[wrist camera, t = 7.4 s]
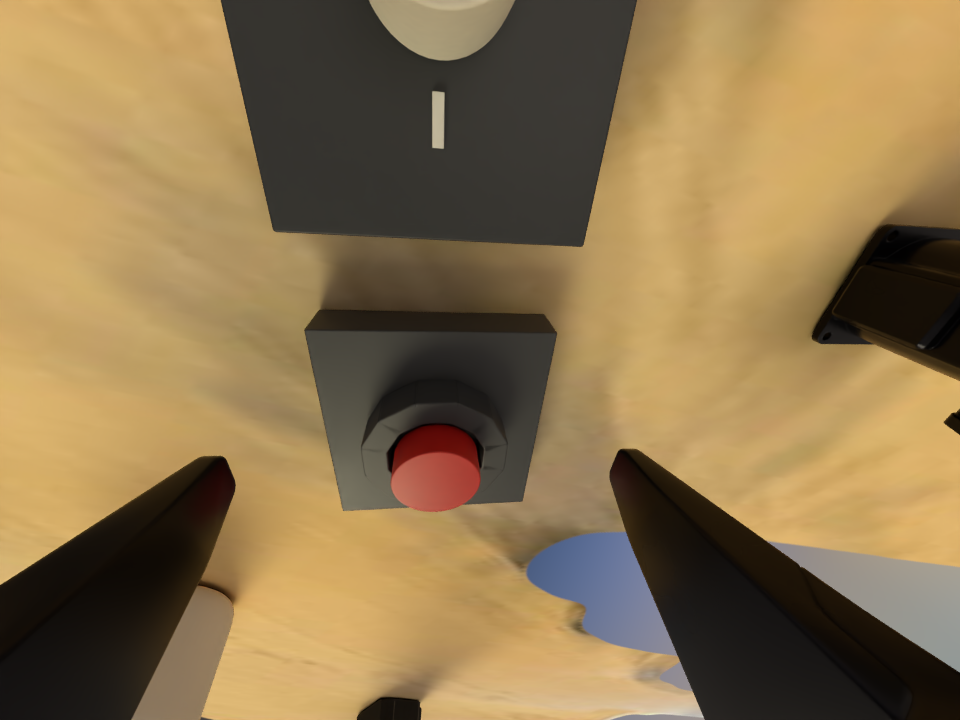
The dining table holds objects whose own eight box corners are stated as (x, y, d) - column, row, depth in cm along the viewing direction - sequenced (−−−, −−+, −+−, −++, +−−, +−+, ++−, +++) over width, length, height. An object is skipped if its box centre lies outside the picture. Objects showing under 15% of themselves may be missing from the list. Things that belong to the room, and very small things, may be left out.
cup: (201, 643, 31) (133, 783, 24) (97, 621, 27) (-17, 778, 20) (269, 593, 28) (214, 736, 21) (163, 560, 24) (56, 720, 17)
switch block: (544, 314, 17) (570, 352, 14) (515, 474, 24) (529, 528, 20) (319, 309, 16) (287, 350, 13) (350, 481, 22) (335, 540, 19)
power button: (479, 422, 16) (484, 450, 14) (474, 480, 18) (477, 509, 16) (391, 424, 15) (387, 453, 14) (396, 484, 17) (393, 514, 16)
